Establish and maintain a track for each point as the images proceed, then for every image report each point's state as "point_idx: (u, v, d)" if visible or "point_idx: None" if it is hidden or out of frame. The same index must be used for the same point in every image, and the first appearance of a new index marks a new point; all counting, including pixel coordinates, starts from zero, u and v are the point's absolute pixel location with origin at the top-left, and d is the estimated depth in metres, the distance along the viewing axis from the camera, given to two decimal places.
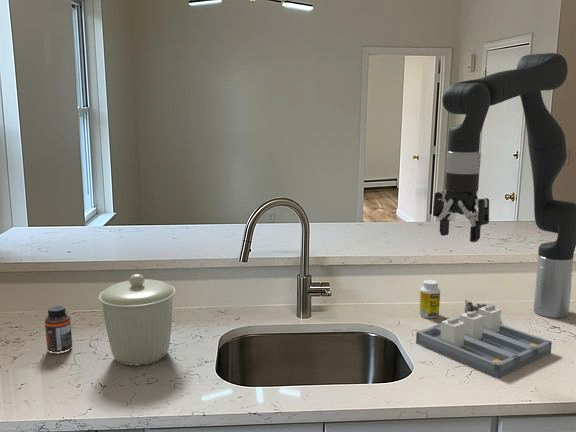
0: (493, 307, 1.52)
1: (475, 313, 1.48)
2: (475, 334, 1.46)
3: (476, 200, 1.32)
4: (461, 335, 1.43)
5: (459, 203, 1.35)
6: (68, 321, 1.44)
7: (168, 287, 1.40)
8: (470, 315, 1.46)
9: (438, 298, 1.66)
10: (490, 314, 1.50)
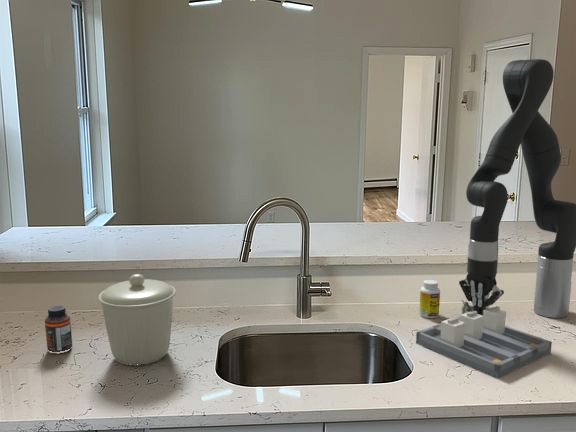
0: (498, 309, 1.51)
1: (475, 313, 1.48)
2: (475, 334, 1.46)
3: (494, 288, 1.49)
4: (461, 335, 1.43)
5: (479, 285, 1.51)
6: (68, 321, 1.44)
7: (168, 287, 1.40)
8: (470, 315, 1.46)
9: (438, 298, 1.66)
10: (495, 316, 1.48)
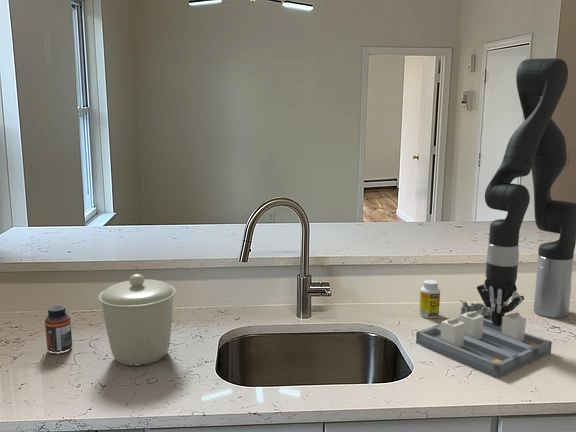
0: (518, 315, 1.46)
1: (475, 313, 1.48)
2: (475, 334, 1.46)
3: (514, 293, 1.45)
4: (461, 335, 1.43)
5: (499, 290, 1.47)
6: (68, 321, 1.44)
7: (168, 287, 1.40)
8: (470, 315, 1.46)
9: (438, 298, 1.66)
10: (515, 322, 1.44)
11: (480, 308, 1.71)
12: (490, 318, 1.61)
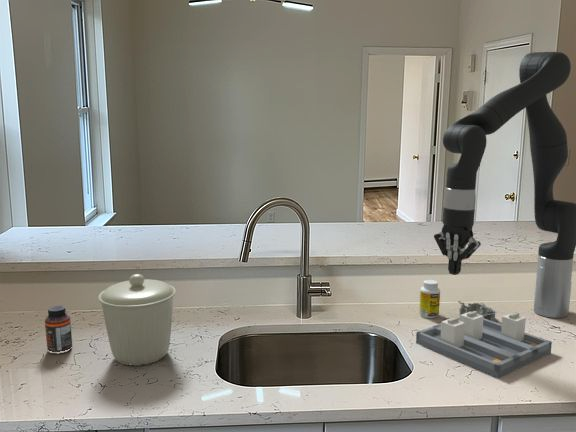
0: (517, 315, 1.46)
1: (475, 313, 1.48)
2: (475, 334, 1.46)
3: (470, 239, 1.41)
4: (461, 335, 1.43)
5: (455, 236, 1.43)
6: (68, 321, 1.44)
7: (168, 287, 1.40)
8: (470, 315, 1.46)
9: (438, 298, 1.66)
10: (515, 322, 1.44)
11: (477, 308, 1.71)
12: (492, 318, 1.62)
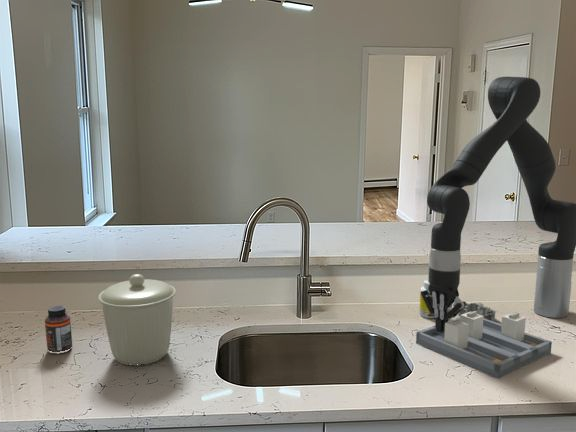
0: (517, 315, 1.46)
1: (475, 313, 1.48)
2: (475, 334, 1.46)
3: (456, 299, 1.41)
4: (465, 337, 1.42)
5: (441, 296, 1.43)
6: (68, 321, 1.44)
7: (168, 287, 1.40)
8: (470, 315, 1.46)
9: None
10: (515, 322, 1.44)
11: (474, 308, 1.71)
12: (492, 317, 1.62)
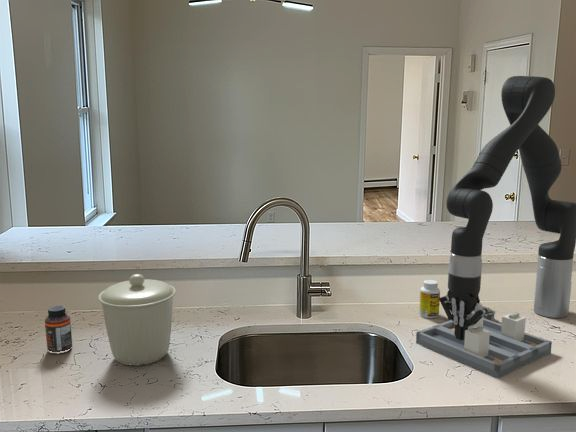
0: (517, 315, 1.46)
1: None
2: None
3: (477, 306, 1.36)
4: (486, 345, 1.37)
5: (461, 303, 1.38)
6: (68, 321, 1.44)
7: (168, 287, 1.40)
8: None
9: (438, 298, 1.66)
10: (515, 322, 1.44)
11: None
12: (492, 317, 1.62)
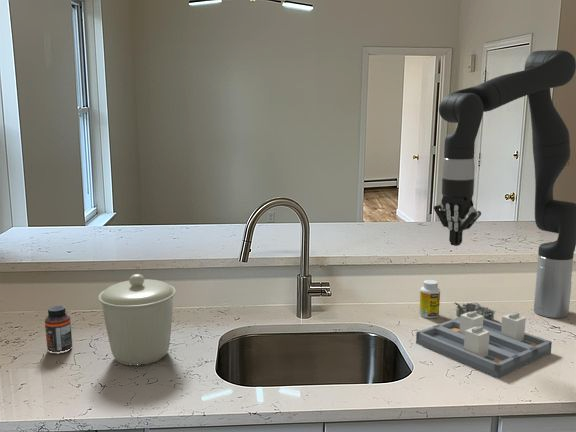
0: (517, 315, 1.46)
1: (475, 313, 1.48)
2: None
3: (470, 209, 1.40)
4: (486, 345, 1.37)
5: (455, 207, 1.41)
6: (68, 321, 1.44)
7: (168, 287, 1.40)
8: (470, 315, 1.46)
9: (438, 298, 1.66)
10: (515, 322, 1.44)
11: (471, 308, 1.71)
12: (492, 317, 1.62)
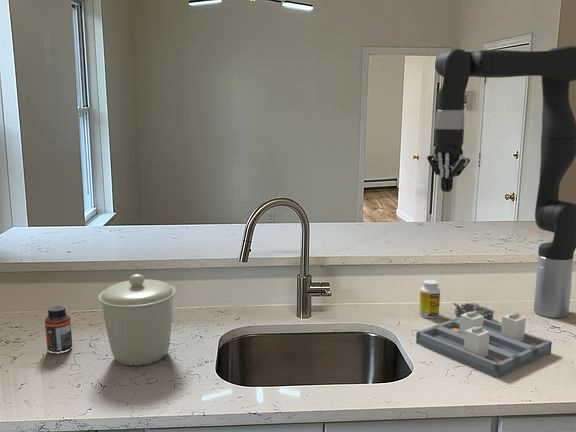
0: (517, 315, 1.46)
1: (475, 313, 1.48)
2: None
3: (460, 156, 1.52)
4: (486, 345, 1.37)
5: (446, 155, 1.54)
6: (68, 321, 1.44)
7: (168, 287, 1.40)
8: (470, 315, 1.46)
9: (438, 298, 1.66)
10: (515, 322, 1.44)
11: (469, 308, 1.71)
12: (491, 317, 1.62)
